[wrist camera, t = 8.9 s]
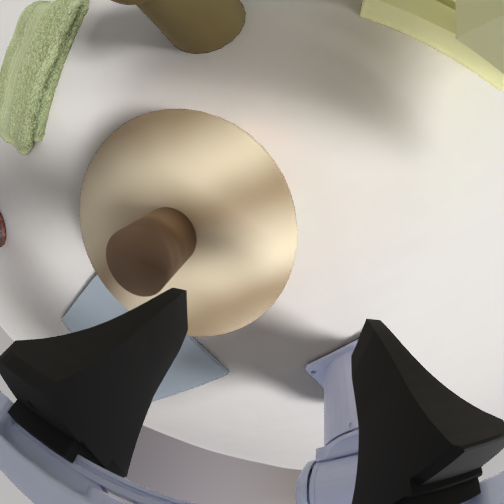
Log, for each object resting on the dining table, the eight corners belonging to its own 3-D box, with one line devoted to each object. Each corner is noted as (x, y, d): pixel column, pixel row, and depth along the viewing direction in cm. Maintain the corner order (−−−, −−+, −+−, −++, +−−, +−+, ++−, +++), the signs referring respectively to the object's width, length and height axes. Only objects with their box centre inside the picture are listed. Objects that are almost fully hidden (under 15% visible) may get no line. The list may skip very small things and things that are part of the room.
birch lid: (343, 269, 16) (357, 315, 12) (172, 352, 21) (148, 394, 17) (196, 60, 12) (157, 35, 8) (60, 207, 18) (16, 227, 13)
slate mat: (229, 371, 26) (228, 374, 26) (146, 401, 32) (145, 403, 32) (116, 252, 23) (113, 254, 23) (63, 318, 29) (61, 320, 28)
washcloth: (-3, 129, 21) (-20, 132, 18) (42, 4, 13) (24, 0, 10) (43, 156, 21) (21, 161, 18) (104, -2, 14) (84, -11, 11)
